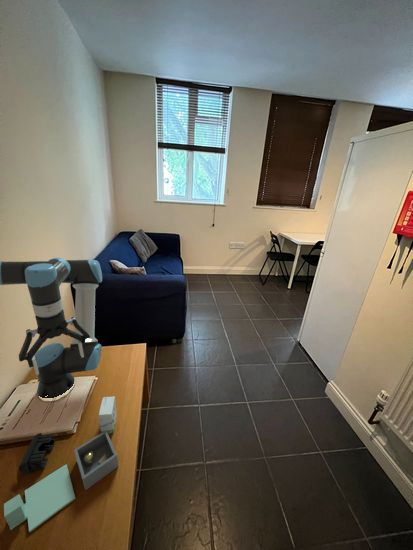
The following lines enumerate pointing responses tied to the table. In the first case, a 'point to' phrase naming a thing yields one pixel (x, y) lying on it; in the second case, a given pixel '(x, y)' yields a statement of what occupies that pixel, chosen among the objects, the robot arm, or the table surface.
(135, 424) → the table surface
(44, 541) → the table surface
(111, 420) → the ink box
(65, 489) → the lid
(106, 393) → the table surface
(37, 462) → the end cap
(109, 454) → the tub
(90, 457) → the brass part
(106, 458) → the walnut part
